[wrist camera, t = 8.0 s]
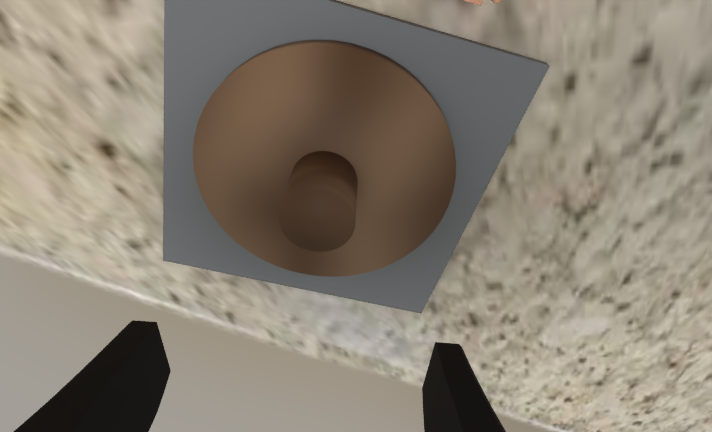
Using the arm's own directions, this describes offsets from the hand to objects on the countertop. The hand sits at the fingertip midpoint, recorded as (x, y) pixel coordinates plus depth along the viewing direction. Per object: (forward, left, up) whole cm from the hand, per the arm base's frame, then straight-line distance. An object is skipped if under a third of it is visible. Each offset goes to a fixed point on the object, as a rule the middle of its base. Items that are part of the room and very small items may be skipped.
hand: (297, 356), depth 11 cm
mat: (0, 0, -10) cm, 10 cm away
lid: (0, 0, -9) cm, 9 cm away
